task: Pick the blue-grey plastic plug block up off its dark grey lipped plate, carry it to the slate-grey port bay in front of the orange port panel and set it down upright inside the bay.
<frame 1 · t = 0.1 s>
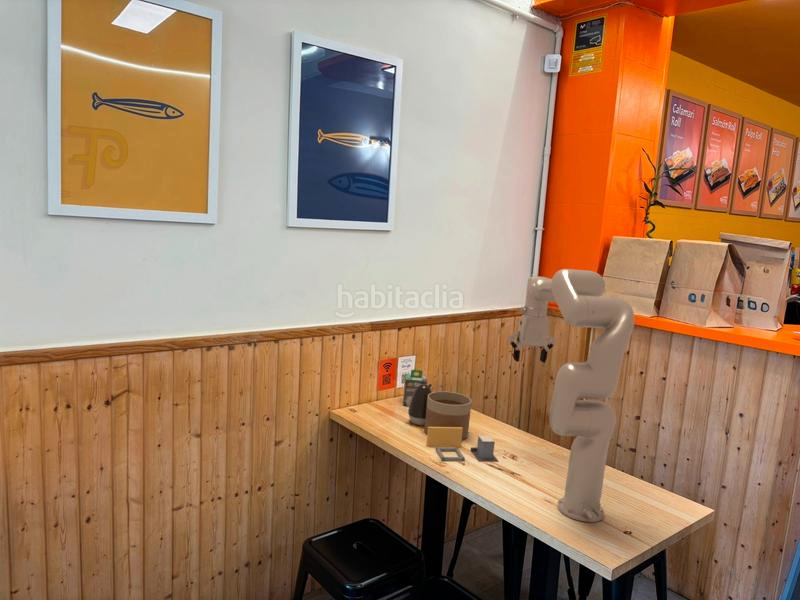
hand: (529, 361, 202), 31 cm above the table, fingers open, 9 cm apart
planter: (445, 434, 212), on the table
plug: (484, 455, 194), resting on dark grey lipped plate
port: (449, 456, 192), on the table
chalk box: (413, 404, 245), on the table
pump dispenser: (420, 423, 222), on the table
dark grey lipped plate: (484, 457, 194), on the table
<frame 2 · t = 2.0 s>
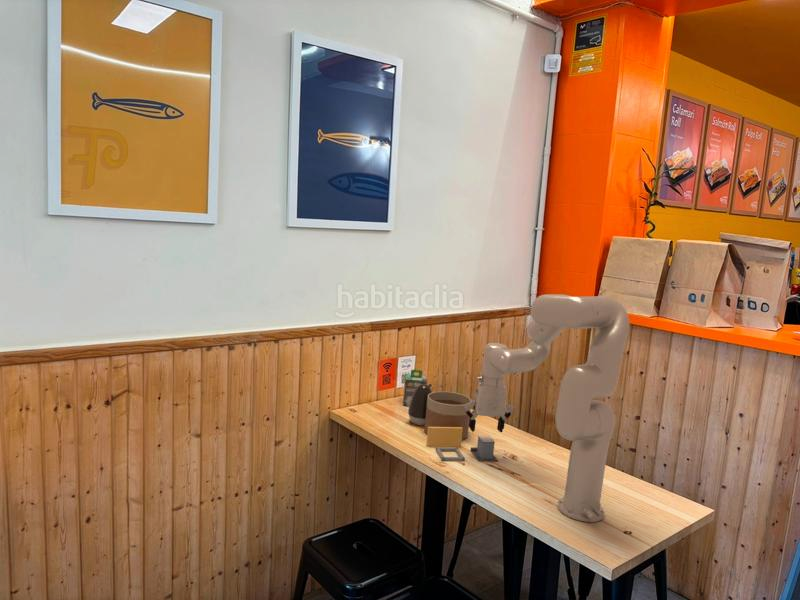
hand: (485, 430, 194), 9 cm above the table, fingers open, 9 cm apart
nothing on the table moved.
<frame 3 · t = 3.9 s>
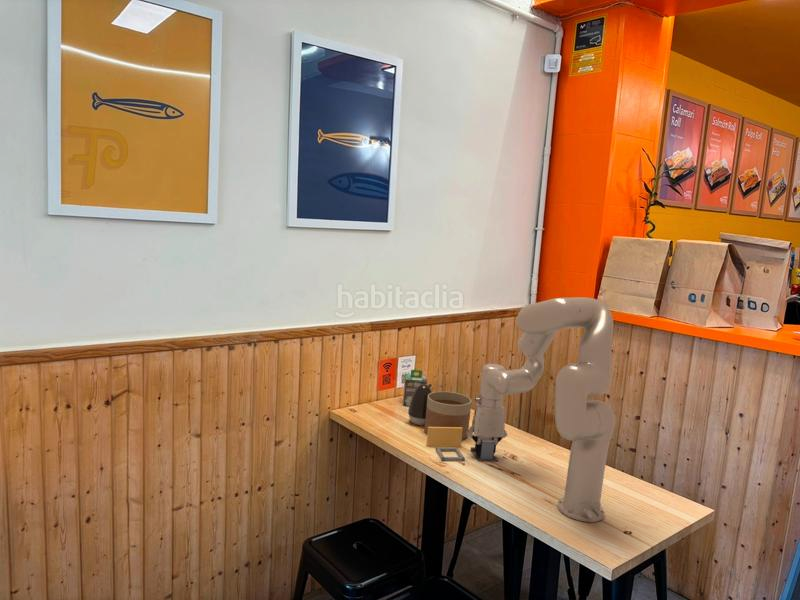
hand: (484, 454, 194), 1 cm above the table, fingers closed on plug, 4 cm apart
plug: (484, 455, 194), resting on dark grey lipped plate, touching gripper
everything else where it was.
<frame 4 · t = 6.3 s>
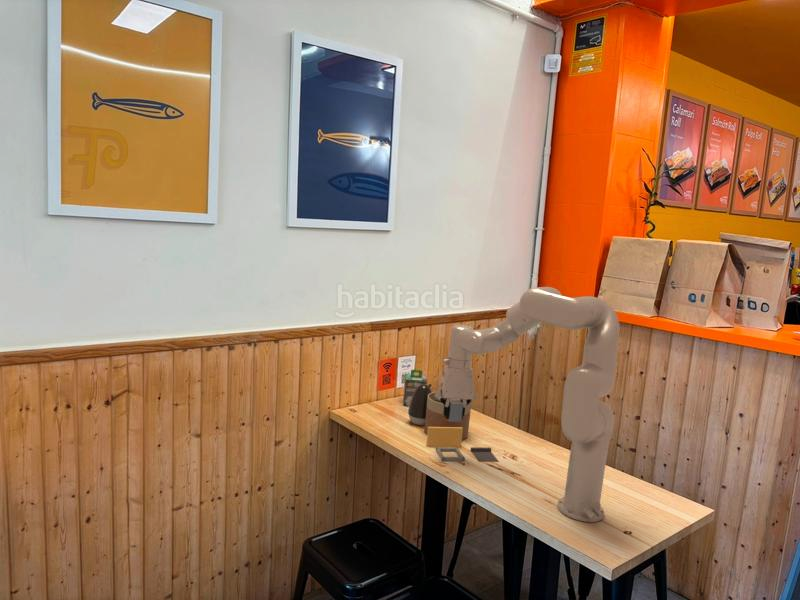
hand: (453, 417, 190), 14 cm above the table, fingers closed on plug, 4 cm apart
plug: (453, 418, 191), point 13 cm above the table, touching gripper
everything else where it was.
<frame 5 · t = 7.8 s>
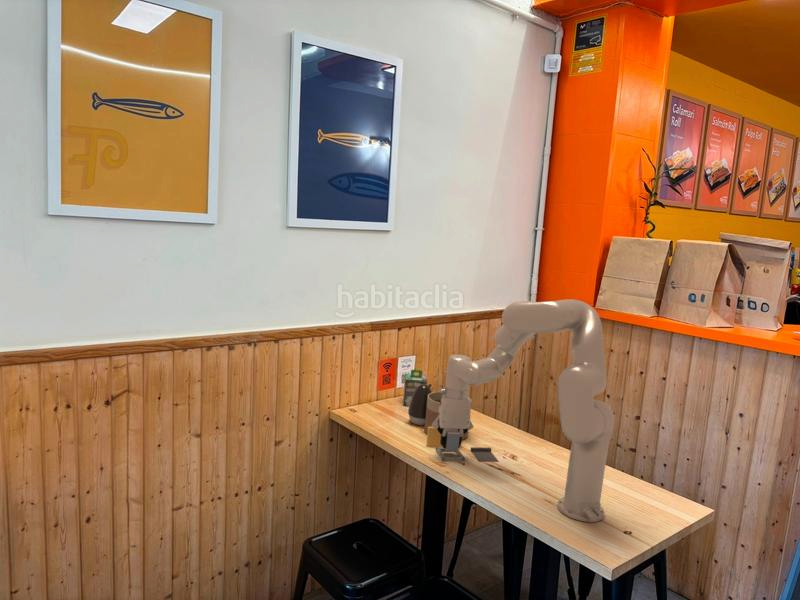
hand: (450, 446, 192), 4 cm above the table, fingers closed on plug, 4 cm apart
plug: (450, 447, 192), point 3 cm above the table, touching gripper
everything else where it was.
when the fingers open (2 cm above the table, at t = 8.9 s): plug drops 1 cm, resting in port.
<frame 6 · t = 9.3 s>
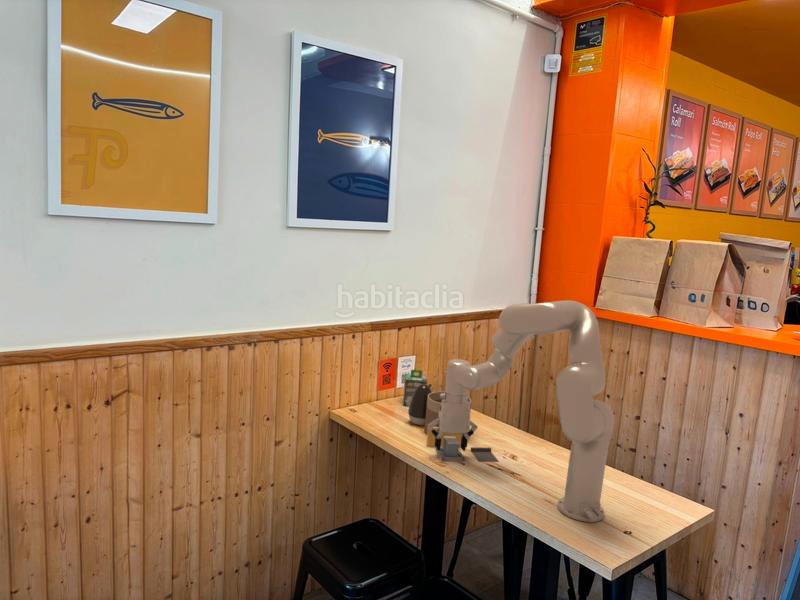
hand: (450, 448, 192), 3 cm above the table, fingers open, 8 cm apart
plug: (449, 457, 192), resting in port
everything else where it was.
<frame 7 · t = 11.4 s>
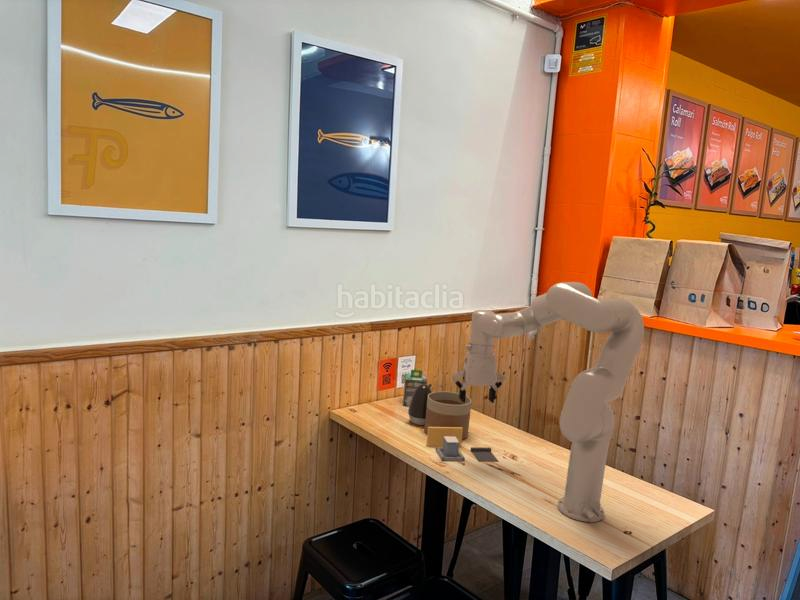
hand: (476, 401, 187), 20 cm above the table, fingers open, 9 cm apart
nothing on the table moved.
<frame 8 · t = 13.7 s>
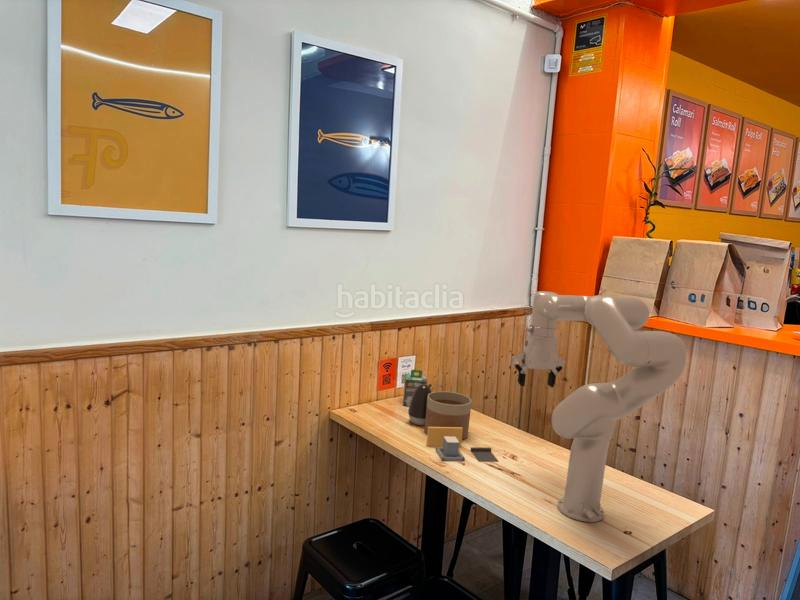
hand: (535, 385, 182), 28 cm above the table, fingers open, 9 cm apart
nothing on the table moved.
at the end: plug 0.0 cm off-centre on the port, point 0.0 cm above the port's base; plug tilted 0°; the gripper is holding nothing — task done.
